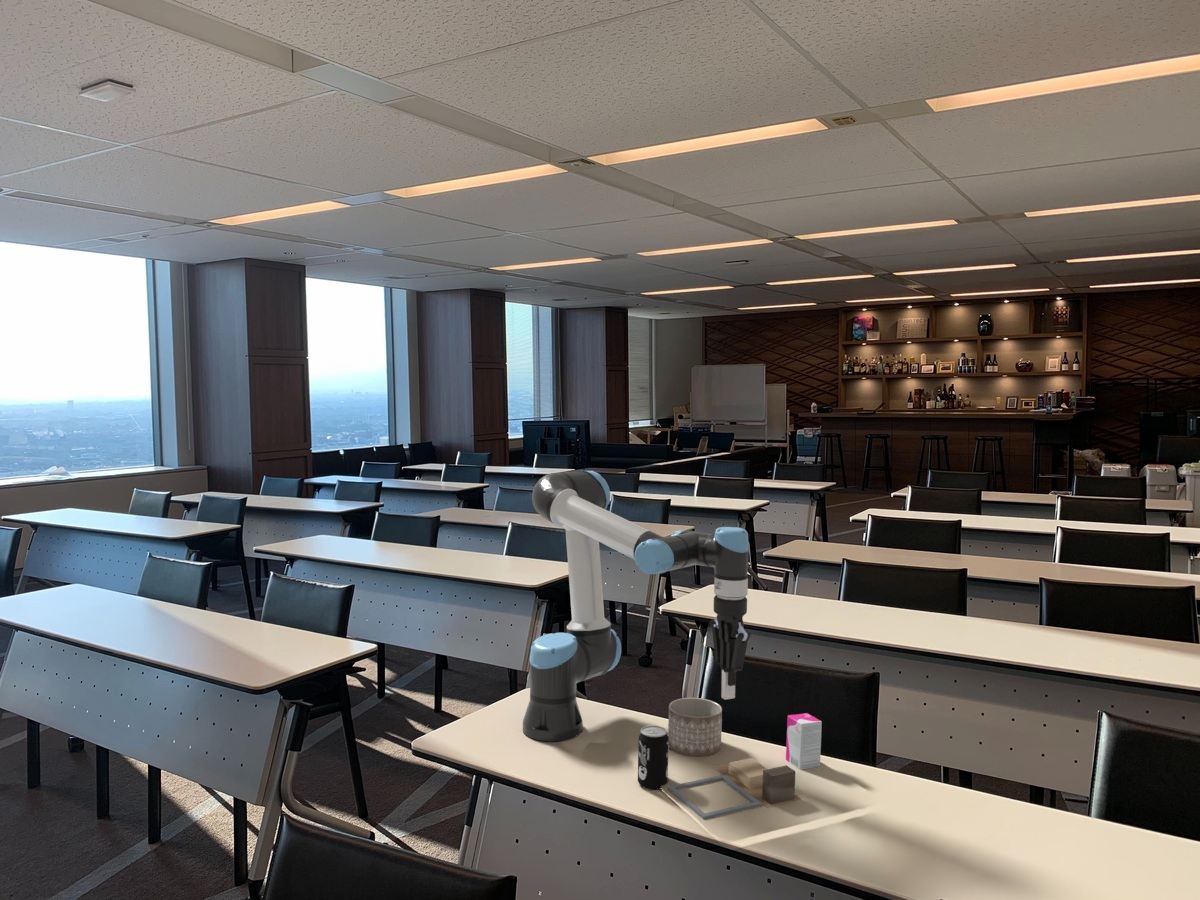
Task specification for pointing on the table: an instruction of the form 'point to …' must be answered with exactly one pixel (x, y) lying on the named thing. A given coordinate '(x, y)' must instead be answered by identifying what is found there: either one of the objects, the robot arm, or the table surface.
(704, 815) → the picture frame
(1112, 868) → the table surface
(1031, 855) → the table surface
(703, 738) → the planter
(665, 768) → the beverage can
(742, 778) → the beige wooden block
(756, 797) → the brown boxy piece
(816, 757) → the supplement box
